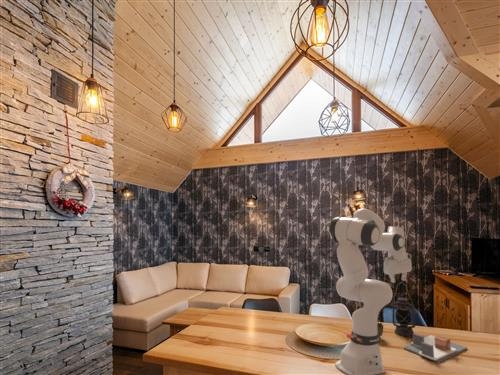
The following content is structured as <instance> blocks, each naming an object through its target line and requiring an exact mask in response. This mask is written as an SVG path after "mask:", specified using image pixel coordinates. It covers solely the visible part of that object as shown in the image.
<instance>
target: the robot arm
mask: <svg viewBox="0 0 500 375" xmlns="http://www.w3.org/2000/svg"><path fill="white" fill-rule="evenodd" d="M328 227H329V228H328V230H329V233H330V236H331V238H332V239H333V243H334V242H335V244H338V246H337V248H336V256H337V261H338V264H339V266H340V269H341V271H342V274H343V276H341V277H339V279H338V280H337V282H336V284H335V285H336V287H335V288H336V292H337V294H338V295H339V296H340V297H342V298H344V299H346V300H349V301H355V302H360V303H363V307H361V308H360V307H359V308H358V309H356V310H354V312H352V316H351V317H352V319H351V320H352V321H351V322H352V329H351V333H349V332H347V333H346V338H348V339H349V341H348V343H347V344H346V345H345V346H344V348H342V350H341V353H340V359H339V360H337V361H336V362H335V364H334V366H335V368H337V369H338V370H339V371H341V372H343V373H344V374H347V375H379V374H384V373H386V368H385V367H384V363H383V362H384V361H383V357H382V351H381V348H380V344H379V343H380V339H379V334H378V330H377V324H378V322H379V321H378V319H379V315H380V312H381V311H382V309H383V308H384V307H386V306H387V305H388V304H390V303H391V301H393V300H392V299H393V297H394V296H393V294H394V293H393V290H392V287H391V285H390V284H389V283H388V282H385V281H382V280H379V279H372V278H370V279H369V278H368V277H369V272H370V270H369V268H368V265H367V263H366V260H365V258H364V255H363V254H362V251H361V250H360V248H359V245H360V246H364V247H366V248H368V249H369V250H370V251H384V252H387V256H386V257H385V259H384V261H383V273H384V274H385V275H388V277H389V279H390V282H391V283H396V278H395V277H394V276H395V275H396V274H397V275H398V274H401V275H402V276H401V281H402V282H405V281H406V280H407V275H408V272H409V273H410V272H412V269H413V268H412V266H413V265H412V254H410V253H408V252H406V247H405V244H406V236H405V232H404V229H403V227H401V226H397V225H391V226H388V227H387V232H385V229H386V225H385V222H384V220H383V218H382V217H380V215H378V214H377V213H375V212H374V211H372V210H370V209H369V208H364V207H363V208H358V209H357V210H356V211H355V212H354V213H353V215H352V217H344V216H336V217H334V218H332V220H331V221H330V222H329V226H328Z"/></svg>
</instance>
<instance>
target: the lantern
mask: <svg viewBox="0 0 500 375" xmlns="http://www.w3.org/2000/svg"><path fill="white" fill-rule="evenodd" d="M400 284H402V281H400V282H399V283H398V284H397V285H396V288H395V293H394V296H393V298H392V299H393V300H392V303H391V307H392V325H393V326H394V327H395V329H394V334H395V335H396V336H399V335H400V337H402V336H404V337H403V338H413V333H415V332H414V330H413V329H414V328H416V318H415V312H414V310H415V308H416V307H415V305H414V304H413V301H412V298H411V296H410V295H409V292H408V291H409V290H408V286H407V285H406V284H405V283H403V285H404V286H405V287H406V291H407V295H408V297H409V299H410V301H411V302H408V299H407V298H406V297H403V296H404V295H403V293H401V295H400V297H398V298H396V299H397V300H396V302H394V300H395V297H396V296H397V295H396V294H397V290H398V286H399V285H400ZM395 305H396V306H397V307H396V310H395ZM409 307H410V308H411V311H410V309H409ZM395 320H396V322H397V323H398V324H397V323H395ZM411 322H413V323H412V325H411Z"/></svg>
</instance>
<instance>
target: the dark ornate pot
mask: <svg viewBox="0 0 500 375" xmlns="http://www.w3.org/2000/svg"><path fill="white" fill-rule="evenodd" d="M377 330H378V334H379V340H380V339H381V336H383V334H384V333H383V332H384V324H383V323H382V322H380V323H379V321H377Z"/></svg>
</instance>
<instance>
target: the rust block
mask: <svg viewBox="0 0 500 375" xmlns="http://www.w3.org/2000/svg"><path fill="white" fill-rule="evenodd" d="M450 342H451V338H449V337H446V336H444V335H437V336H435V348H438V349H441V350H443V351H448V350H450V349H451V343H450Z"/></svg>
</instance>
